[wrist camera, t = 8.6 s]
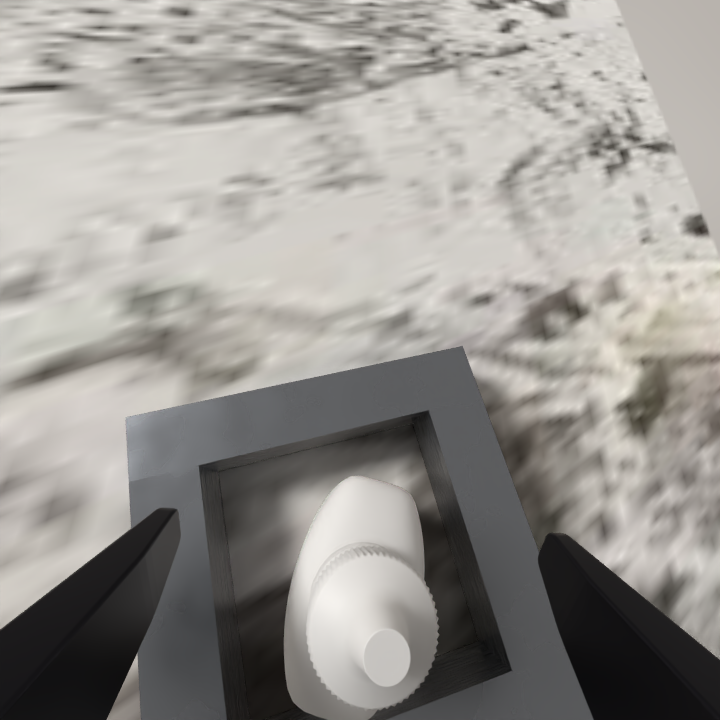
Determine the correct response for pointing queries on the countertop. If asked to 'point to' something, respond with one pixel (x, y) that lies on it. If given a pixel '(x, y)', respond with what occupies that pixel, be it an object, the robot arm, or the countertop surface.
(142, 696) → the hollow square frame
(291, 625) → the eye dropper bottle
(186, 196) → the countertop surface
